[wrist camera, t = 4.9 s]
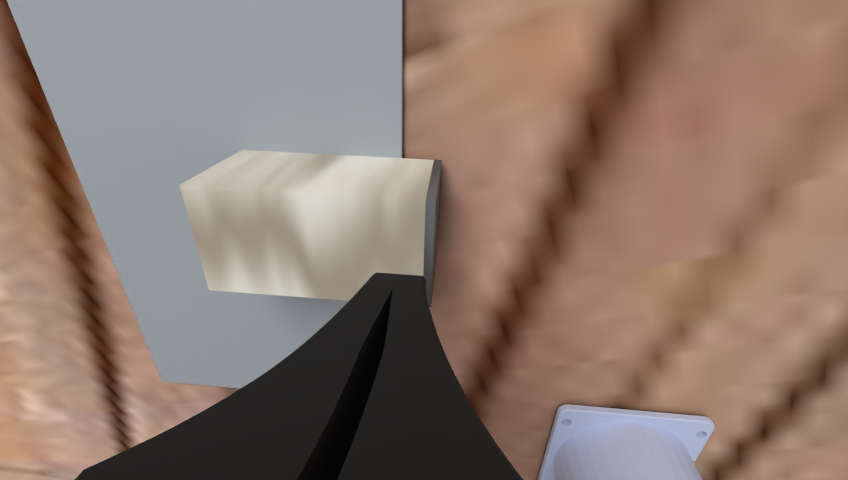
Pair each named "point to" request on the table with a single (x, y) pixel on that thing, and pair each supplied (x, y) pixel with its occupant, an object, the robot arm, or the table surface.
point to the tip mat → (209, 142)
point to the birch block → (313, 222)
